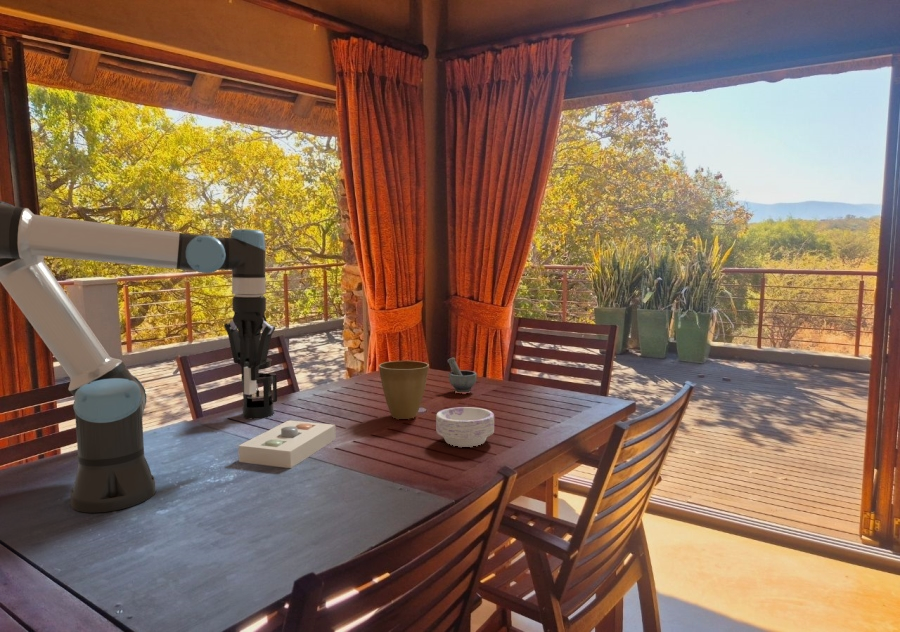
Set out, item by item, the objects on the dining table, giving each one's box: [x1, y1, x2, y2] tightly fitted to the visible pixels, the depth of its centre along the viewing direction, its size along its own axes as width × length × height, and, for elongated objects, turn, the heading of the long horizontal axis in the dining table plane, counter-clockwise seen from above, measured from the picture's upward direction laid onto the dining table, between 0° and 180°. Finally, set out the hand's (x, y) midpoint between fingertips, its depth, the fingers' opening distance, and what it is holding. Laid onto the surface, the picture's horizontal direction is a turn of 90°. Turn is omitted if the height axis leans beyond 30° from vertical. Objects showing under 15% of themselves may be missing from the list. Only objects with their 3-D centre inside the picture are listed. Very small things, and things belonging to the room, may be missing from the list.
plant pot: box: [378, 360, 430, 420], centre depth 181 cm, size 15×15×16 cm
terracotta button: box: [296, 423, 312, 430], centre depth 158 cm, size 4×4×4 cm
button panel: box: [238, 419, 337, 469], centre depth 152 cm, size 22×14×4 cm, turn 163°
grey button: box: [281, 426, 298, 438], centre depth 151 cm, size 4×4×4 cm
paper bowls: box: [435, 406, 495, 448], centre depth 158 cm, size 15×15×8 cm
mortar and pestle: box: [447, 357, 478, 392], centre depth 213 cm, size 11×9×12 cm
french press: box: [241, 357, 278, 420], centre depth 183 cm, size 12×9×23 cm
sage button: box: [265, 439, 282, 447], centre depth 145 cm, size 4×4×4 cm
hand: (250, 393), depth 145 cm, fingers closed
